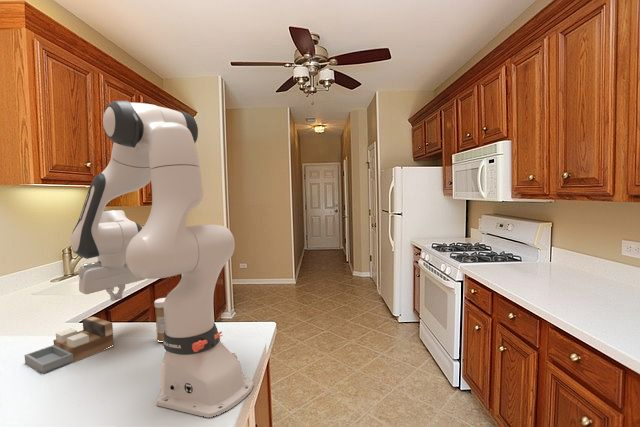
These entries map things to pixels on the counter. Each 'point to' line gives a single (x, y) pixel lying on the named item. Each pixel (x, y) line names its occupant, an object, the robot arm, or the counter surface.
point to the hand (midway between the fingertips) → (116, 299)
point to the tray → (48, 359)
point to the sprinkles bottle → (160, 318)
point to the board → (87, 345)
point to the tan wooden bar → (97, 326)
